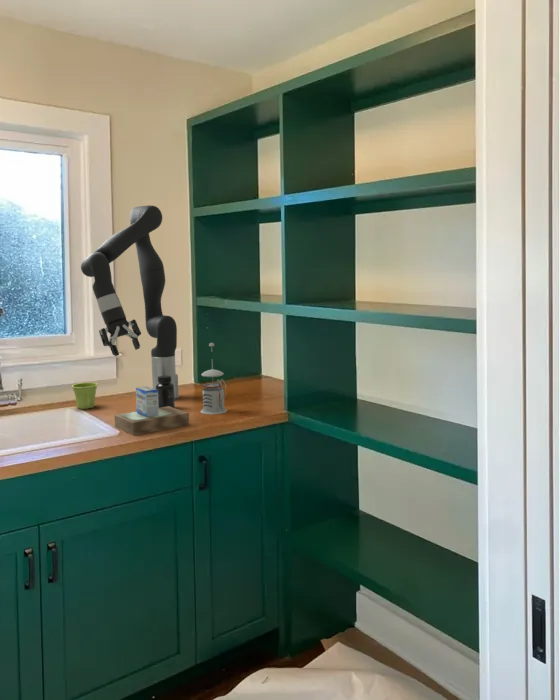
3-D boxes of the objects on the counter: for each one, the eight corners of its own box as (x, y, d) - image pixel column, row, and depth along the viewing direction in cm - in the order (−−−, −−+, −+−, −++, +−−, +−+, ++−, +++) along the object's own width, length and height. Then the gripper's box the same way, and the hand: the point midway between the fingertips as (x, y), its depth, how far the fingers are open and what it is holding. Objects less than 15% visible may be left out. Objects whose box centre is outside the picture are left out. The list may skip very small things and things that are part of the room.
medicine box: (136, 413, 218) (135, 387, 216) (148, 411, 220) (147, 385, 219) (146, 417, 211) (145, 391, 210) (159, 415, 214) (158, 389, 213)
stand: (169, 417, 229) (168, 405, 229) (189, 424, 218) (188, 412, 218) (115, 426, 217) (114, 414, 217) (133, 435, 206) (132, 421, 206)
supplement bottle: (173, 405, 248) (172, 374, 247) (176, 409, 242) (175, 377, 240) (155, 407, 246) (153, 375, 245) (157, 411, 240) (156, 378, 238)
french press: (216, 407, 245) (214, 340, 241) (236, 411, 236) (234, 342, 233) (194, 411, 238) (192, 343, 235) (214, 416, 230) (211, 345, 226)
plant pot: (95, 409, 244) (94, 386, 242) (69, 410, 243) (68, 387, 242) (101, 404, 253) (100, 382, 252) (77, 405, 253) (75, 382, 252)
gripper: (98, 310, 222) (115, 355, 222) (133, 301, 232) (149, 344, 232) (88, 316, 227) (105, 360, 228) (123, 307, 237) (139, 349, 238)
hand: (127, 352), depth 230 cm, fingers open, 8 cm apart
